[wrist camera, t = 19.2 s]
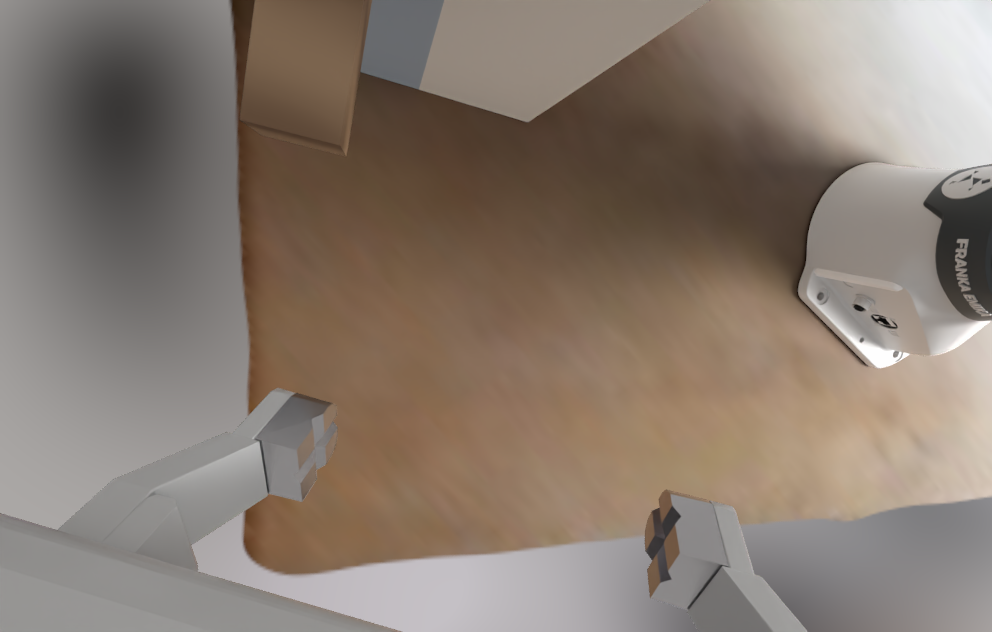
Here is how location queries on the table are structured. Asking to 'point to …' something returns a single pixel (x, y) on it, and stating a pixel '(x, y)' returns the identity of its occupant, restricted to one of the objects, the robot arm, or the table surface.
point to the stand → (509, 46)
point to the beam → (305, 70)
